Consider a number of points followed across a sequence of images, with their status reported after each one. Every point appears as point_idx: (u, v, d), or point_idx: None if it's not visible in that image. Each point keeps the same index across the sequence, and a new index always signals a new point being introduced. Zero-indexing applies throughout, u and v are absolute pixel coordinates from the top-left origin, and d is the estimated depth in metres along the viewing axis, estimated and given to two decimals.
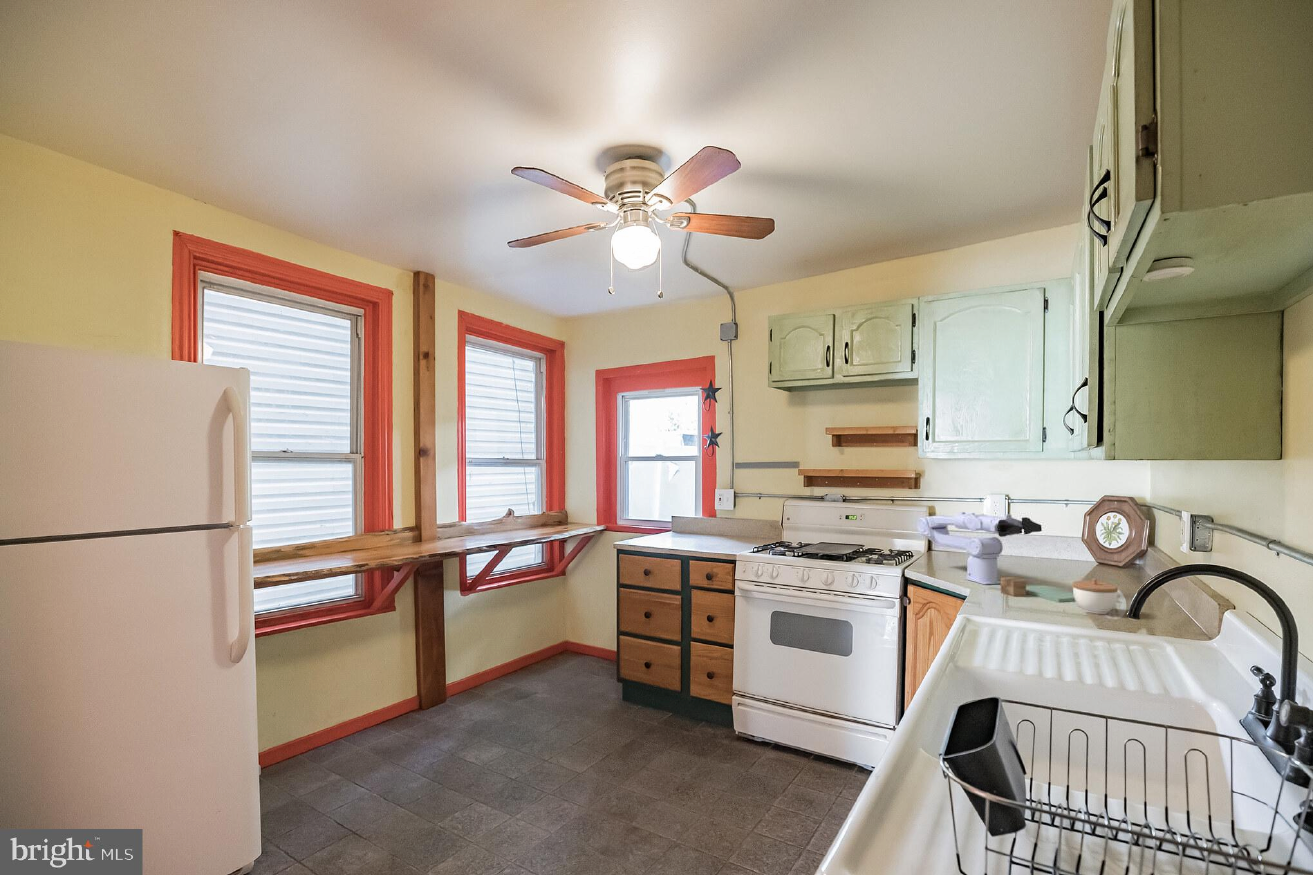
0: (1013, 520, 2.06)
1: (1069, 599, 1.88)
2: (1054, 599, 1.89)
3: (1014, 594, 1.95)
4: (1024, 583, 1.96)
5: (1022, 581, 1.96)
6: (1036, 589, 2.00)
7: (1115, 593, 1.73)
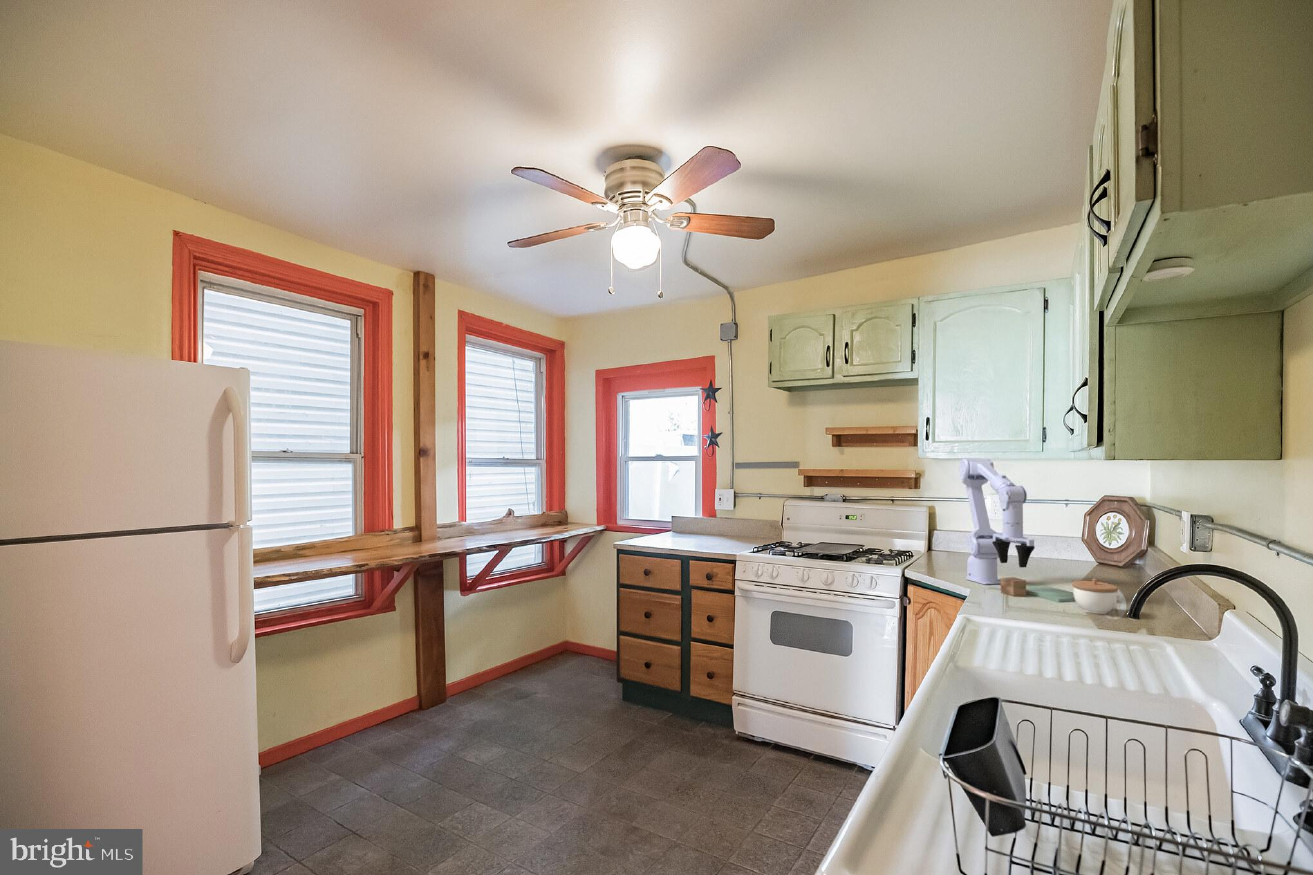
0: (1012, 539, 1.96)
1: (1069, 599, 1.88)
2: (1054, 599, 1.89)
3: (1014, 594, 1.95)
4: (1024, 583, 1.96)
5: (1022, 581, 1.96)
6: (1036, 589, 2.00)
7: (1115, 593, 1.73)
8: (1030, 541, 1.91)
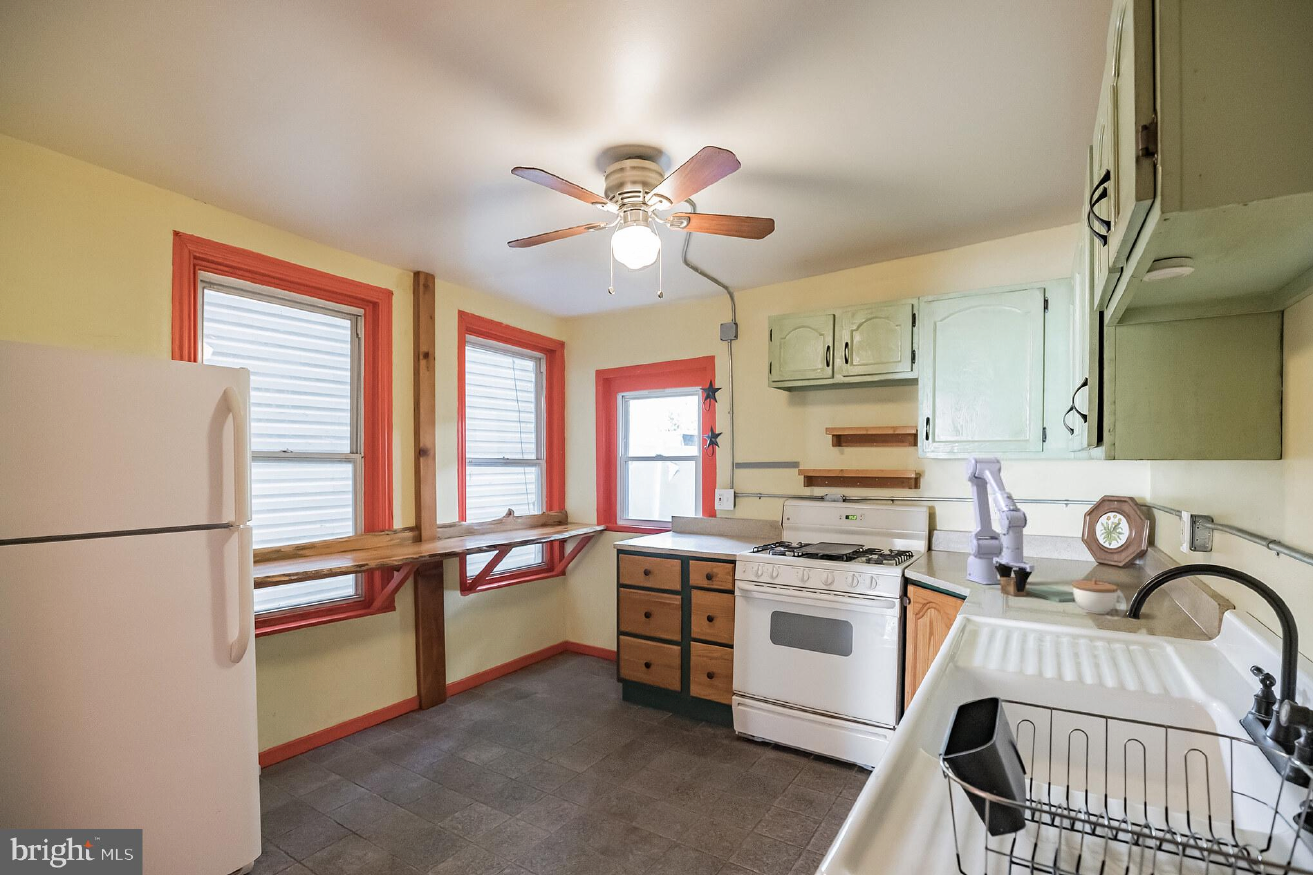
0: None
1: (1069, 599, 1.88)
2: (1054, 599, 1.89)
3: (1014, 594, 1.95)
4: None
5: None
6: (1036, 589, 2.00)
7: (1115, 593, 1.73)
8: (1030, 567, 1.91)
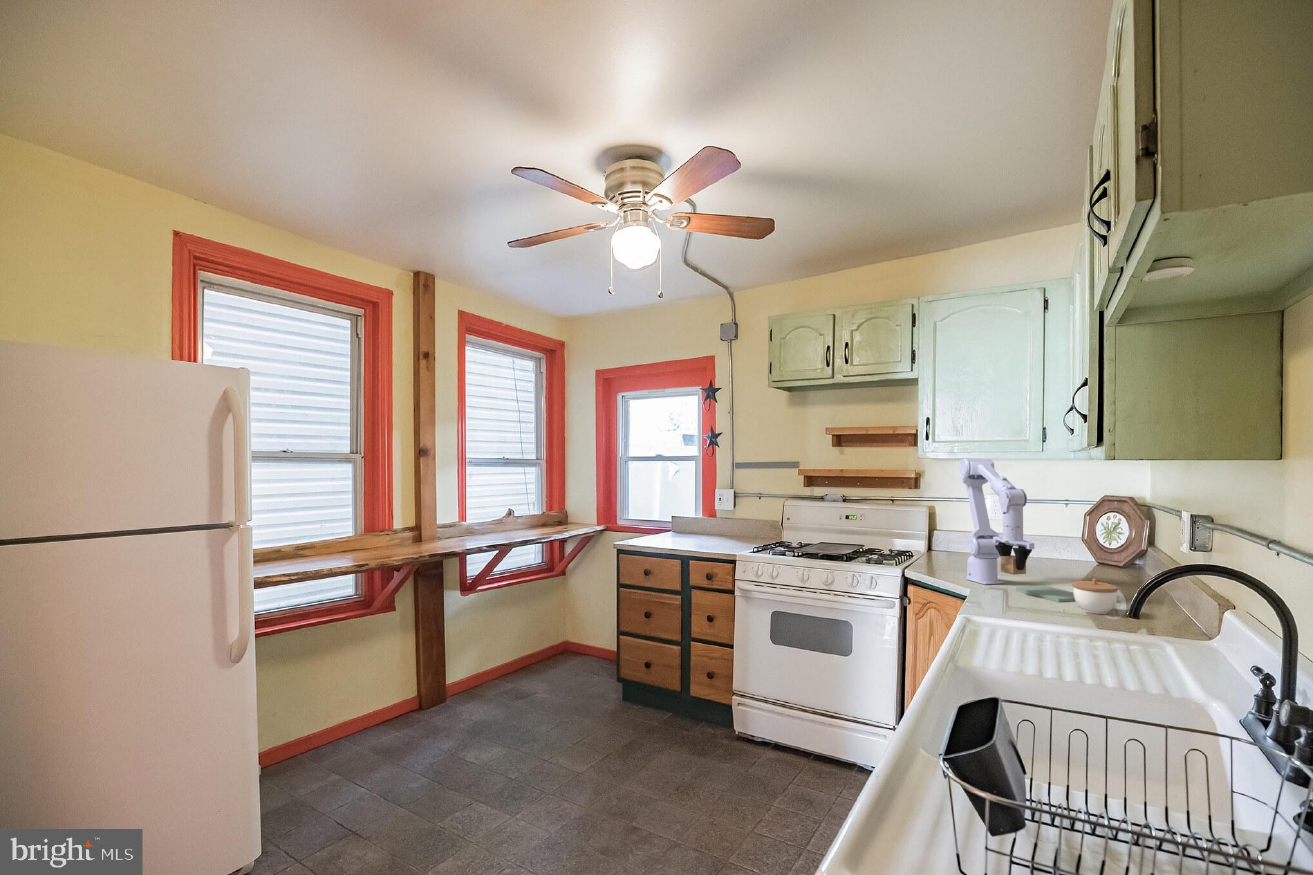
0: (1012, 542, 1.96)
1: (1069, 599, 1.88)
2: (1054, 599, 1.89)
3: (1014, 572, 1.95)
4: None
5: None
6: (1036, 589, 2.00)
7: (1115, 593, 1.73)
8: (1030, 544, 1.91)
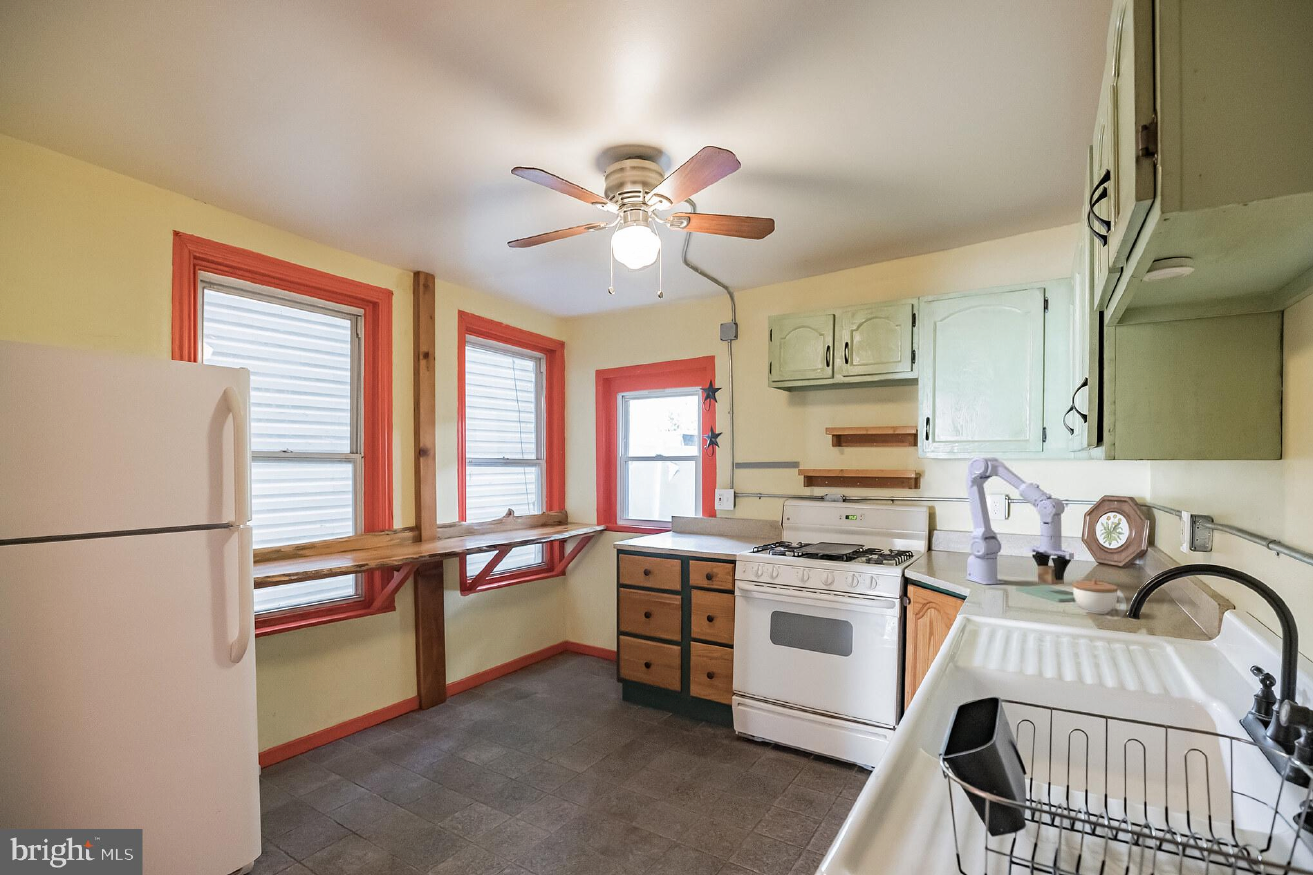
0: (1050, 552, 1.95)
1: (1069, 599, 1.88)
2: (1054, 599, 1.89)
3: (1052, 582, 1.94)
4: None
5: None
6: (1036, 589, 2.00)
7: (1115, 593, 1.73)
8: (1070, 554, 1.90)
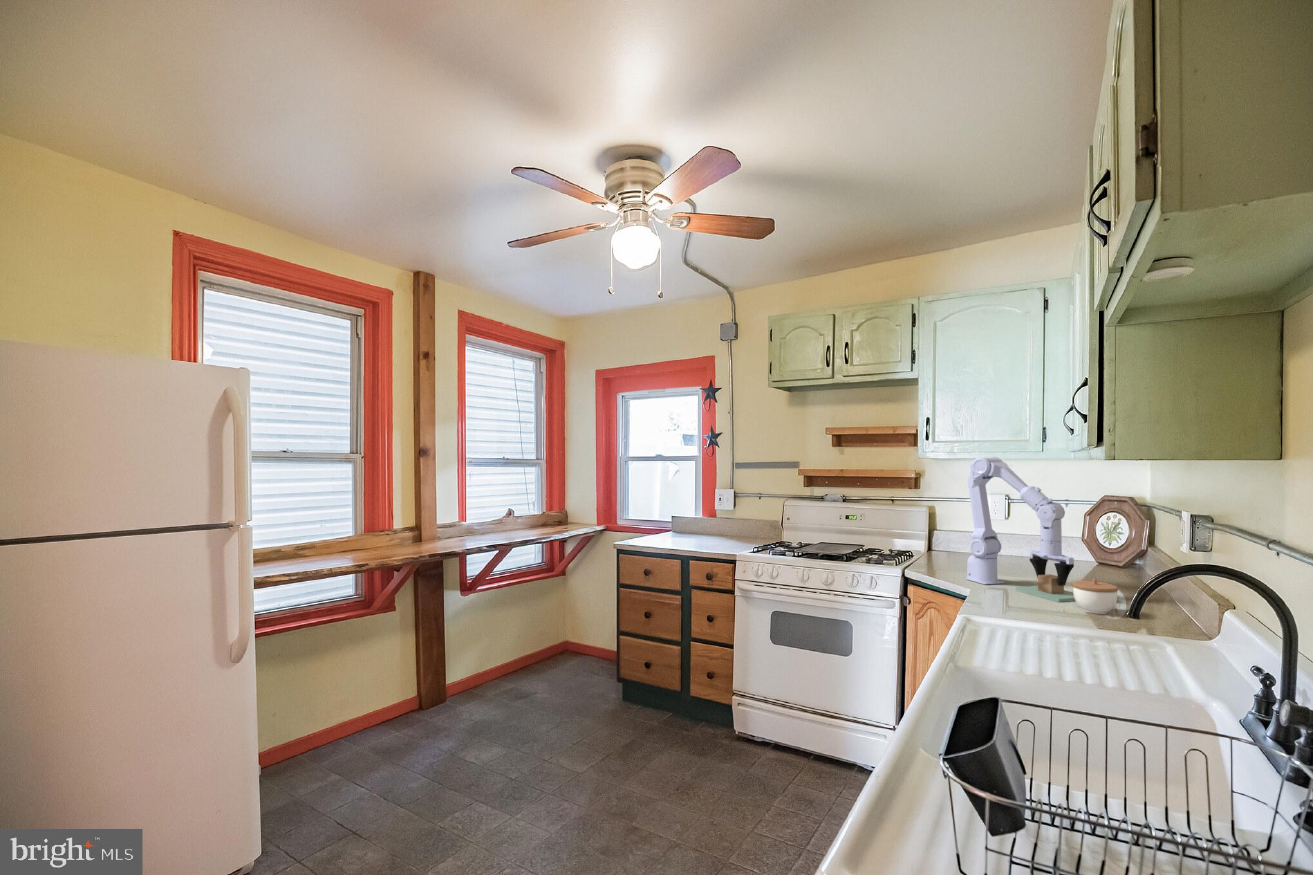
0: (1050, 557, 1.95)
1: (1069, 599, 1.88)
2: (1054, 599, 1.89)
3: (1052, 591, 1.94)
4: None
5: None
6: (1036, 589, 2.00)
7: (1115, 593, 1.73)
8: (1070, 559, 1.90)
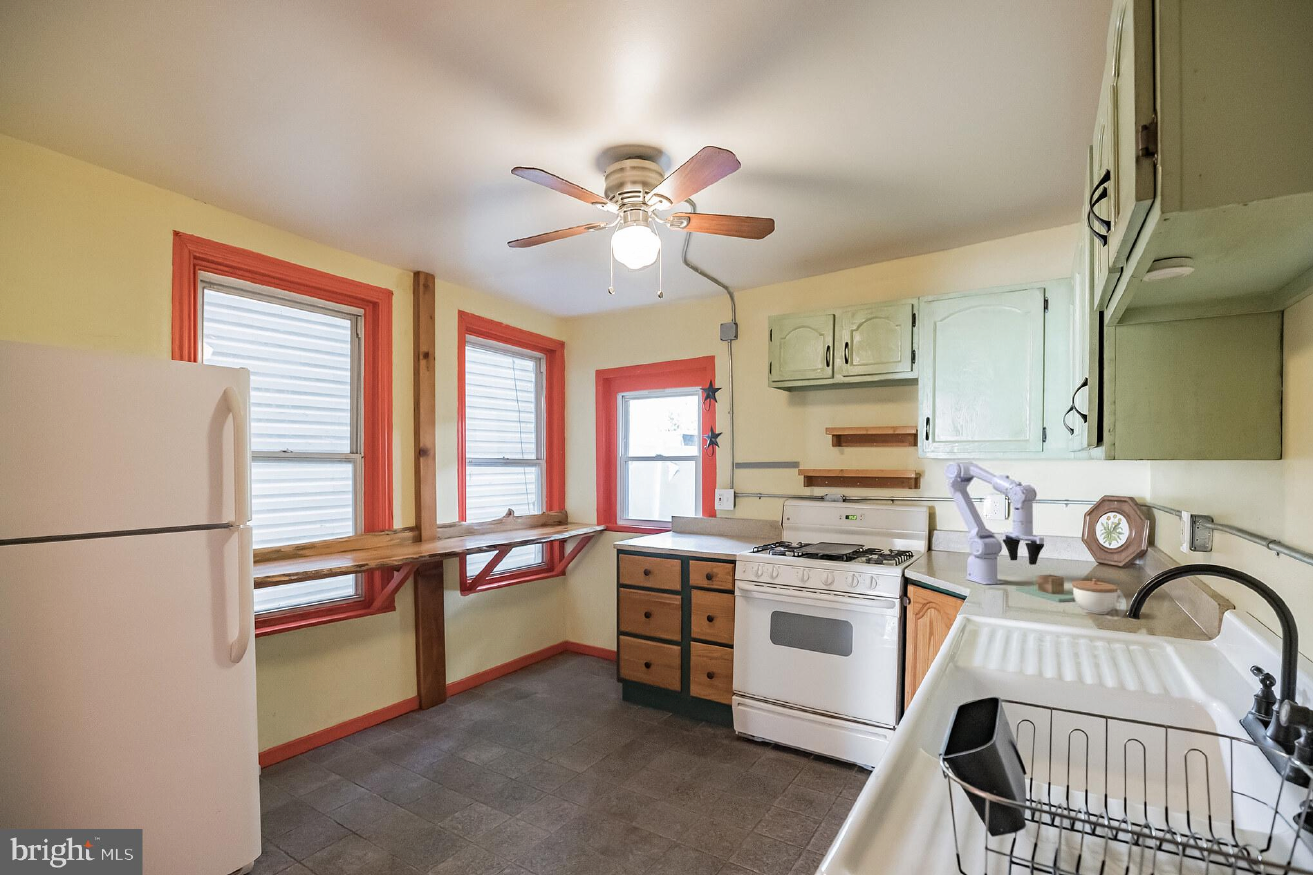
0: (1022, 537, 2.01)
1: (1069, 599, 1.88)
2: (1054, 599, 1.89)
3: (1052, 591, 1.94)
4: (1062, 580, 1.95)
5: (1060, 578, 1.94)
6: (1036, 589, 2.00)
7: (1115, 593, 1.73)
8: (1040, 539, 1.96)
